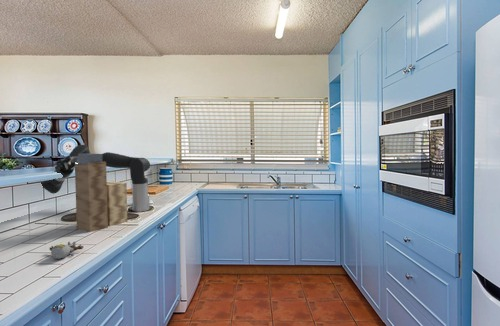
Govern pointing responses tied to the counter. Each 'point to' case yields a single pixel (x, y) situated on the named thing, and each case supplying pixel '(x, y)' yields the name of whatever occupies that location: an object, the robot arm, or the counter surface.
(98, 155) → the bar
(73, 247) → the toy
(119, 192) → the tan wooden block
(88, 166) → the stand
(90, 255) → the counter surface
